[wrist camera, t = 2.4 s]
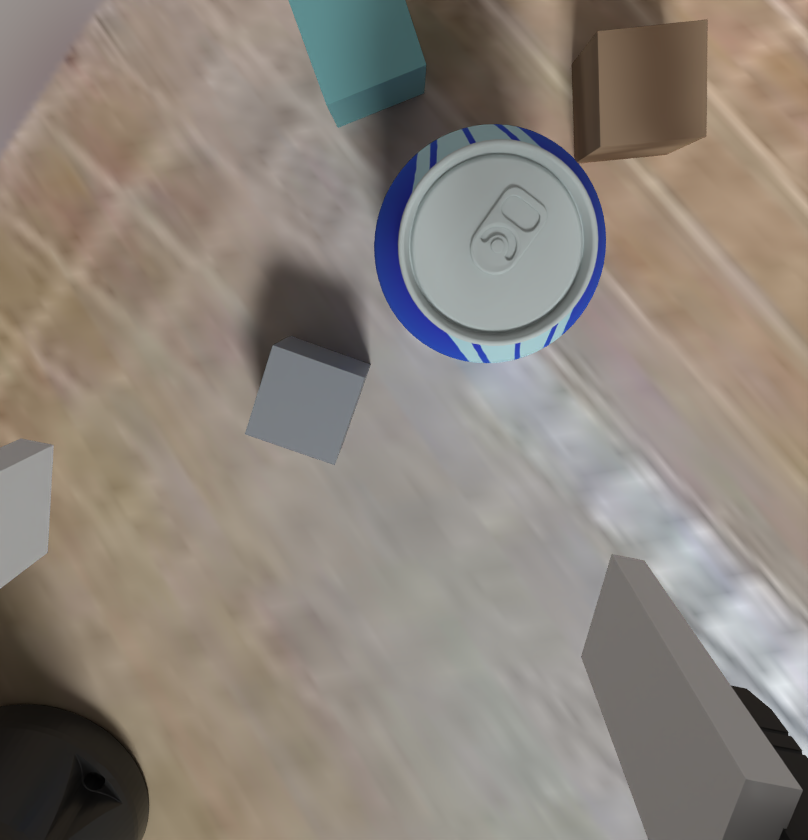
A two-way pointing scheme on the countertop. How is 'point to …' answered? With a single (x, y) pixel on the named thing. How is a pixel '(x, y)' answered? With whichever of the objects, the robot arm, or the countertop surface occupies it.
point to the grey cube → (307, 398)
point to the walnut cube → (640, 91)
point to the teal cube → (361, 54)
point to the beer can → (490, 243)
